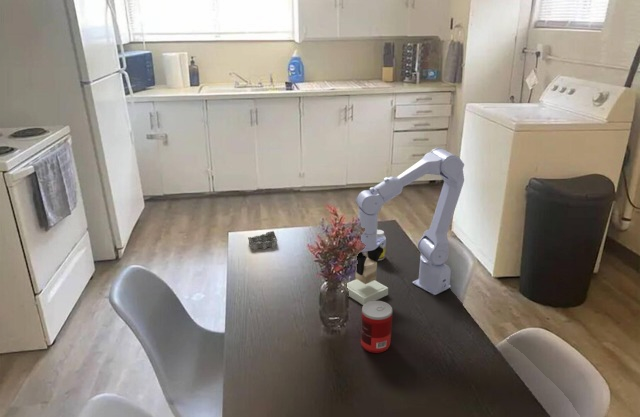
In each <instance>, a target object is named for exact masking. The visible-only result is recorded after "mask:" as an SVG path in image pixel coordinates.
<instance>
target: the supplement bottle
mask: <svg viewBox="0 0 640 417" xmlns="http://www.w3.org/2000/svg"><path fill="white" fill-rule="evenodd" d="M379 237H383V238H386V235H385V231H384V230H382V229H377V238H379ZM386 239H387V238H386ZM386 245H387V244H386ZM386 245H380V247H381V248H383V253H382V254H381V255H380V257H379V259H378V261H382V260H384V259H385V258H386Z"/></svg>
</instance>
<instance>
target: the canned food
mask: <svg viewBox="0 0 640 417" xmlns="http://www.w3.org/2000/svg"><path fill="white" fill-rule="evenodd" d="M361 308H362V309H361V324H360V326H361V328H360V345H361V346H362V348H363V349H364V350H365V351H367V352H369V353H371V354H372V353H373V354H380V353H383V352H385V351H387V350H388V349H389V347H390V345H391V340H392V339H391V338H392V325H393V307H392V305H390V304H389V303H388V302H386V301H382V300H376V301H370V302H367V303H366V304H364V305H362V306H361Z"/></svg>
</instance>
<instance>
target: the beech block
mask: <svg viewBox="0 0 640 417" xmlns="http://www.w3.org/2000/svg"><path fill="white" fill-rule="evenodd" d="M366 257H367V258H366V261H365V264H364V271H363V275H360V274H358V273H357V272H356V271H355V275H354V276H355V280H356V279H357V280H359V281H361V282H362V283H364V284H367V283H369V282H372V281H374V280H375V281H377V272H378V271H377V269H378V268H377V267H378V261H377V262H375V261H374V260H372V259H370V258H368V256H366Z"/></svg>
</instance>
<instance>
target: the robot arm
mask: <svg viewBox="0 0 640 417" xmlns="http://www.w3.org/2000/svg"><path fill="white" fill-rule="evenodd" d="M464 167H465V163H464V162H463V160H462V158H460V157H459V156H458V155H456V154H454V153H452V152H449V151H447V150H445V149H444V148H442V147H435V148H433V149H431V151H429V152H427V153H425V154H424V156H423V157H422V158H421V159H420V160H419V161H417V162H416V163H414V164H413V165H412V166H410V167H409V168H407V169H405V170H404V171H403V172H402V173H400V174H398V175H397V176H389V177H388V176H386V177H384V178H383V179H382V180H383V181H381V182H379V183H378V184H376V185H375V186H371V187H370V188H369V190H368V189H367V190H366V189H364V190H362V191H360V192H359V193H358V196H356V198H355V203H356V205H357V206H358V216H357V219H358V218H359V219H360V222H361V227H362V228H365V231H364V232H363V234H362V235H361V241H362V243H364V244H365V245H366V246H365V248H364V249H363V250H362V251H361V252H360V253H359V254H358V256H357V260H358V264H357V273H358V274H360V275H363V271H364V264H365V261H366V258H367V257H368V258H370V259H372V260H374V261H375V262H377V263H378V261H379V260H378V259H379V257H380V255H381V254H382V253H383V248H381V247H380V245H387V238H383V237H379V238H377V230H378V223H379V222H378V221H379V212H380V211H381V209H382V207H383V206H384V205H385V204H386V203H388V202H389V201H391V200H393V199H394V198H395V197H398V196H399V195H400V194H402V192H403V188H404V187H406V186H408V185H409V184H411V183H413V182H415V181H417V180H419V179H420V178H422V177H424V176H425V175H432V176H433V175H434V176H440V177H441V179H442V181H443V185H442V187H441V191H440V193H439V194H440V195H439V198H438V200H437V204H436V207H435V211H434V214H433V218H432V220H431V223H430V226H429V229H427V230H424V231H423V235H422V237H421V238H420V239H419V240H418V242H417V249H418V250H419V252H420V257H419V259H420V260H419V270H418V271H419V272H418V278H417V279H416V280H413V281H412V285H415V286H416V287H418V288H420V289H422V290H424V291H425V292H428V293H430V294H432V295H433V296H436V295H438V294H440V293H443V292H444V291H447V290H448V289H450V288H451V274H452V270H451V267H450V266H449V265H447V264H446V263H445V262H447V260H448V259H449V255H450V254H449V247H450V241H449V238H448V232H449V229H450V227H451V226H450V225H451V223H452V220H453V216H454V214H455V210H456V208H457V204H458V201H459V198H460V195H461V192H462V189H463V187H464V186H463V185H464V182H465V176H464V174H465V173H464ZM364 252H367V256H366V255H364Z"/></svg>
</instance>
